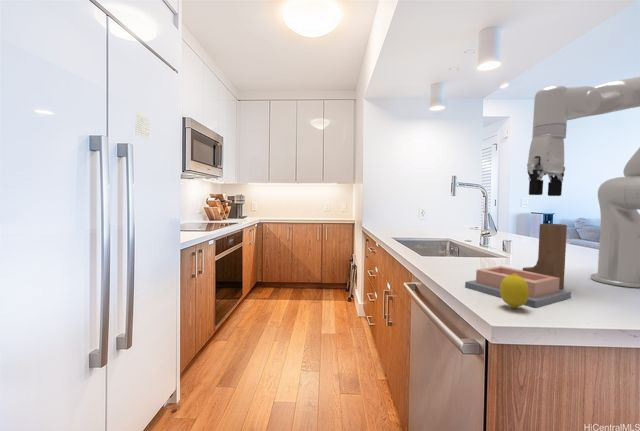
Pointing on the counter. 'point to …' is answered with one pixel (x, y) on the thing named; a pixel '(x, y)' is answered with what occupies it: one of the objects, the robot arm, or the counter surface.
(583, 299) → the counter surface
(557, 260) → the wooden block
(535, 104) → the robot arm
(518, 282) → the lemon
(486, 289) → the baseplate
